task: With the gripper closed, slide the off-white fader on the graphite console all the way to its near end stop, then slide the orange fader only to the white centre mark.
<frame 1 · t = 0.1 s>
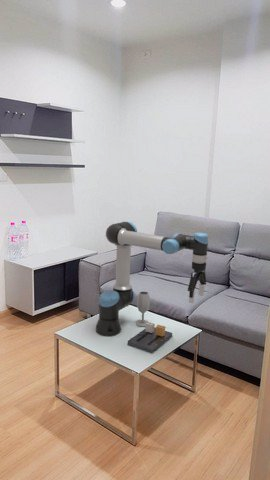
hand: (196, 299, 199), 28 cm above the table, fingers open, 13 cm apart
fader a: (150, 327, 214), point 5 cm above the table, slide at 5.0 cm
fader b: (160, 330, 210), point 5 cm above the table, slide at 5.0 cm
wineglass: (142, 324, 230), on the table
console: (150, 340, 209), on the table
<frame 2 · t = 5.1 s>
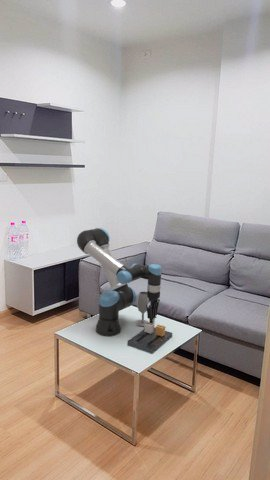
hand: (151, 328, 216), 4 cm above the table, fingers closed
fader a: (149, 327, 213), point 5 cm above the table, slide at 3.9 cm, touching gripper
everything else where it was.
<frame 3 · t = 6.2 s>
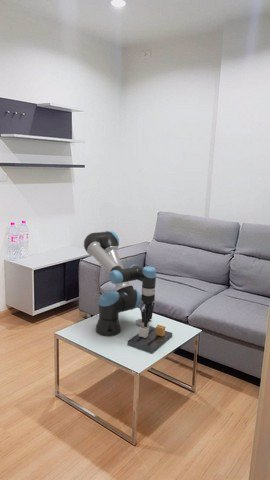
hand: (146, 332, 211), 4 cm above the table, fingers closed
fader a: (143, 331, 207), point 5 cm above the table, slide at -2.5 cm, touching gripper
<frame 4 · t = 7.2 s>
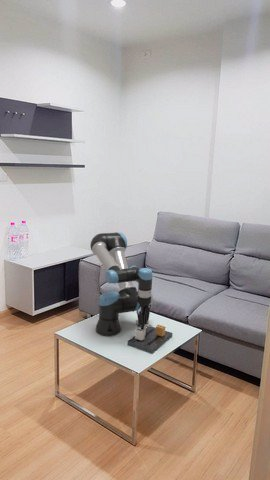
hand: (142, 334, 207), 4 cm above the table, fingers closed
fader a: (140, 334, 204), point 5 cm above the table, slide at -6.3 cm, touching gripper
wineglass: (142, 323, 230), on the table, touching arm
everything else where it was.
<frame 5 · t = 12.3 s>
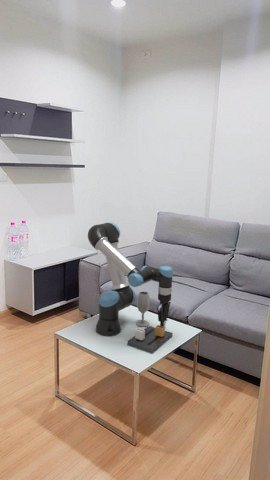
hand: (162, 331, 213), 4 cm above the table, fingers closed
fader a: (140, 334, 204), point 5 cm above the table, slide at -6.0 cm
fader b: (159, 330, 209), point 5 cm above the table, slide at 4.3 cm, touching gripper
wineglass: (142, 324, 230), on the table
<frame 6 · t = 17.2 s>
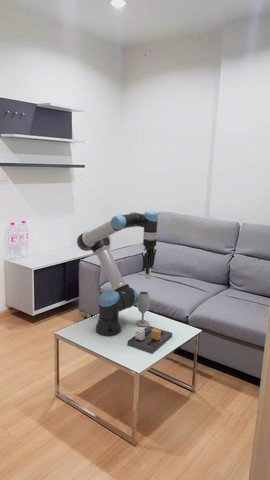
hand: (148, 278, 210), 34 cm above the table, fingers closed
fader b: (155, 333, 205), point 5 cm above the table, slide at -0.4 cm
everything else where it was.
at the end: fader a slide at -6.0 cm; fader b slide at -0.4 cm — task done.
